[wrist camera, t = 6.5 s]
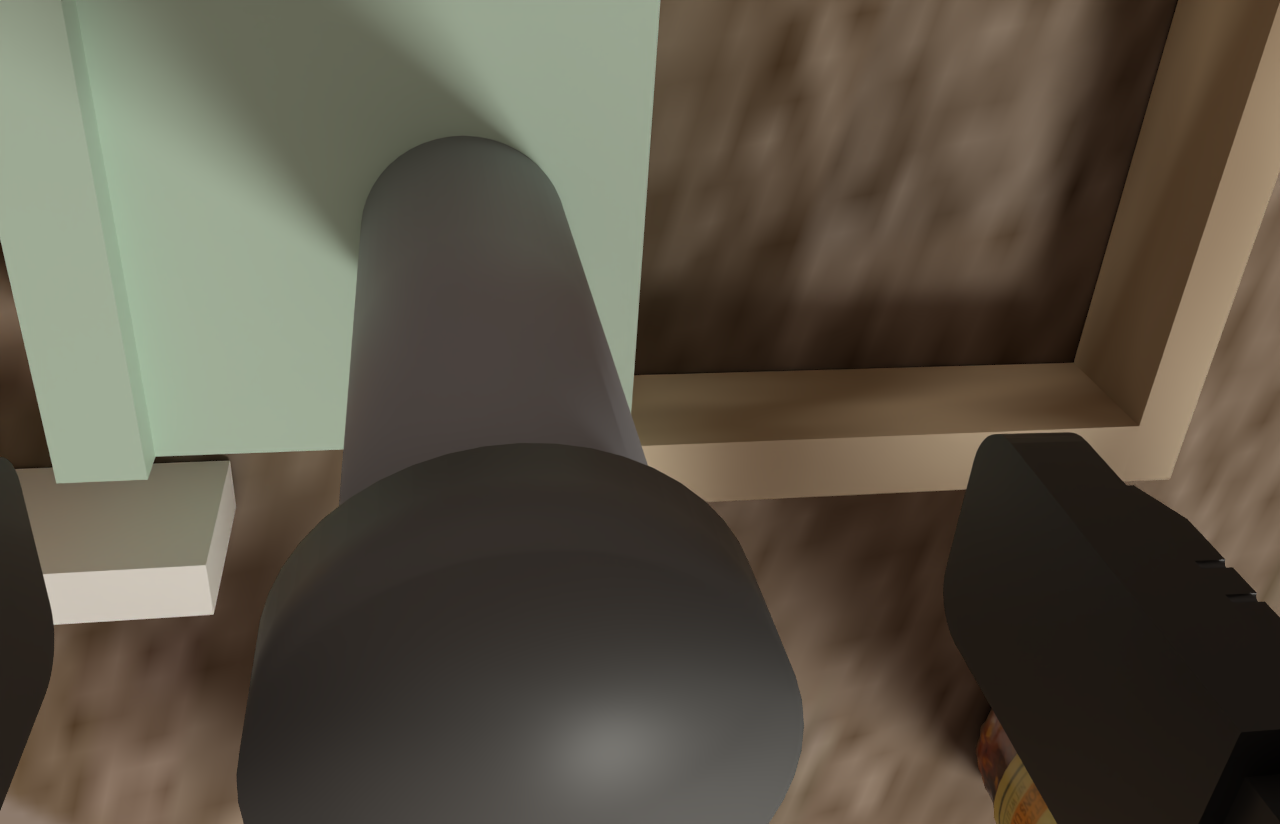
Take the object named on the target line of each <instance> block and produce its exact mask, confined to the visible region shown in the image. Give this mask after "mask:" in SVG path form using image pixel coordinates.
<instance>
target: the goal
mask: <svg viewBox="0 0 1280 824" xmlns="http://www.w3.org/2000/svg"><path fill="white" fill-rule="evenodd" d="M15 470H16V473H17V475H18V477H19V481H20V484H21V488H22V492H23V496H24V500H25V504H26V508H27V512H28V516H29V520H30V524H31V528H32V533H33V537H34V541H35V545H36V549H37V553H38V557H39V561H40V565H41V569H42V573H43V577H44V581H45V585H46V589H47V593H48V598H49V602H50V606H51V611H52V616H53V624H54V625H57V624H73V623H89V622H105V621H121V620H136V619H152V618H168V617H184V616H200V615H214V611H215V606H216V601H217V597H218V592H219V587H220V582H221V577H222V573H223V568H224V563H225V558H226V553H227V549H228V544H229V539H230V534H231V529H232V524H233V520H234V515H235V510H236V501H235V494H234V487H233V479H232V472H231V465H230V461H205V462H180V463H155V464H153V466H152V469H151V472H150V475H149V478H148V480H127V481H103V482H80V483H56V480H55V475H54V471H53V468H28V469H15Z"/></svg>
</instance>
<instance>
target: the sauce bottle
mask: <svg viewBox="0 0 1280 824" xmlns="http://www.w3.org/2000/svg"><path fill="white" fill-rule="evenodd" d="M980 735H981V736H980V737H979V739H978V742H977V746H976V756H977V758H978V767H979V770H980V772H981V774H982V779H983V782H984V786H985V788H986V790H987V792H988V793H989V795H990V797H991V799H992V802H993V805H994V818H995V821H996V824H1057V823H1056V821H1055V819H1054V818H1053V816H1052V814H1051V812H1050V811H1049V809H1048V807H1047V805H1046V803H1045V802H1044V800H1043V798H1042V796H1041V795H1040V793H1039V791H1038V789H1037V788H1036V786H1035V784H1034V782H1033V780H1032V779H1031V777H1030V775H1029V773H1028V772H1027V770H1026V768H1025V766H1024V765H1023V763H1022V761H1021V759H1020V757H1019V756H1018V754H1017V752H1016V750H1015V749H1014V747H1013V745H1012V743H1011V742H1010V740H1009V738H1008V736H1007V734H1006V733H1005V731H1004V729H1003V727H1002V726H1001V724H1000V722H999V720H998V719H997V717H996V715H995V713H994V711H993V710H992V709H991V711H990V713H989V714H988V717H987V720H986V721H985V722H984V723H983V724H982V726H981V728H980Z"/></svg>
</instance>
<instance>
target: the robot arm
mask: <svg viewBox="0 0 1280 824" xmlns="http://www.w3.org/2000/svg"><path fill="white" fill-rule="evenodd" d="M943 596H944V608H945V614H946V619H947V623H948V627H949V630H950V633H951V636H952V638H953V640H954V642H955V644H956V646H957V648H958V650H959V651H960V653H961V655H962V657H963V658H964V660H965V662H966V664H967V665H968V667H969V669H970V671H971V673H972V674H973V676H974V678H975V680H976V681H977V683H978V685H979V687H980V688H981V690H982V692H983V694H984V696H985V697H986V699H987V701H988V703H989V704H990V706H991V708H992V710H993V711H994V713H995V715H996V717H997V719H998V720H999V722H1000V724H1001V726H1002V727H1003V729H1004V731H1005V733H1006V734H1007V736H1008V738H1009V740H1010V742H1011V743H1012V745H1013V747H1014V749H1015V750H1016V752H1017V754H1018V756H1019V757H1020V759H1021V761H1022V763H1023V765H1024V766H1025V768H1026V770H1027V772H1028V773H1029V775H1030V777H1031V779H1032V780H1033V782H1034V784H1035V786H1036V788H1037V789H1038V791H1039V793H1040V795H1041V796H1042V798H1043V800H1044V802H1045V803H1046V805H1047V807H1048V809H1049V811H1050V812H1051V814H1052V816H1053V818H1054V819H1055V821H1056V823H1057V824H1280V617H1279V616H1278V615H1277V614H1276V613H1275V612H1274V611H1273V610H1272V609H1271V608H1270V607H1269V606H1268V605H1267V604H1266V602H1258V601H1257V599H1256V592H1255V591H1254V590H1253V589H1252V588H1251V586H1250V585H1249V584H1248V583H1247V582H1246V581H1245V580H1244V579H1243V578H1242V577H1241V576H1240V575H1239V574H1238V573H1237V572H1236V571H1235V569H1234V568H1233V567H1232V568H1226V567H1225V559H1224V558H1223V557H1222V556H1221V555H1220V553H1219V552H1218V551H1217V550H1216V549H1215V548H1214V547H1213V546H1212V545H1211V544H1210V543H1209V542H1208V541H1207V540H1206V539H1205V537H1204V536H1203V535H1202V534H1201V533H1200V532H1199V531H1198V530H1197V529H1196V528H1195V527H1194V526H1193V525H1192V524H1191V523H1190V522H1189V520H1188V519H1186V518H1185V517H1183V516H1181V515H1180V514H1178V513H1177V512H1175V511H1173V510H1172V509H1170V508H1169V507H1167V506H1166V505H1164V504H1162V503H1161V502H1159V501H1158V500H1156V499H1154V498H1153V497H1151V496H1150V495H1148V494H1146V493H1145V492H1143V491H1142V490H1140V489H1138V488H1137V487H1135V486H1134V485H1133V486H1127V485H1126V484H1125V483H1124V482H1123V481H1122V480H1121V479H1120V478H1119V476H1118V475H1117V474H1116V473H1115V472H1114V471H1113V470H1112V469H1111V468H1110V467H1109V465H1108V464H1107V463H1106V462H1105V461H1104V460H1103V459H1102V458H1101V457H1100V455H1099V454H1098V453H1097V452H1096V451H1095V450H1094V449H1093V448H1092V447H1091V445H1090V444H1089V443H1088V442H1087V441H1086V440H1085V439H1084V438H1083V437H1082V436H1080V435H1078V434H1076V433H1072V432H1056V433H1017V434H992V435H990V436H988V437H986V438H985V439H984V440H983V441H982V443H981V444H980V446H979V448H978V450H977V452H976V455H975V458H974V461H973V465H972V469H971V473H970V477H969V481H968V485H967V488H966V492H965V496H964V500H963V504H962V508H961V512H960V516H959V519H958V523H957V527H956V531H955V535H954V539H953V543H952V547H951V550H950V554H949V558H948V562H947V566H946V571H945V575H944V588H943ZM53 656H54V624H53V616H52V611H51V606H50V602H49V598H48V593H47V589H46V585H45V581H44V577H43V573H42V569H41V565H40V561H39V557H38V553H37V549H36V545H35V541H34V537H33V533H32V528H31V524H30V520H29V516H28V512H27V508H26V504H25V500H24V496H23V492H22V488H21V484H20V481H19V477H18V475H17V473H16V470H15V469H14V467H13V465H12V464H11V463H10V462H9V461H8V460H7V459H6V458H4V457H0V810H1V807H2V805H3V802H4V799H5V797H6V794H7V792H8V789H9V787H10V784H11V781H12V779H13V776H14V774H15V771H16V769H17V766H18V763H19V761H20V758H21V756H22V753H23V750H24V748H25V745H26V743H27V740H28V738H29V735H30V732H31V730H32V727H33V725H34V722H35V720H36V717H37V714H38V712H39V709H40V707H41V704H42V702H43V699H44V696H45V694H46V691H47V688H48V684H49V680H50V676H51V671H52V664H53Z"/></svg>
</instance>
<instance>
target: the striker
mask: <svg viewBox="0 0 1280 824" xmlns="http://www.w3.org/2000/svg"><path fill="white" fill-rule="evenodd" d="M659 12H660V0H0V241H1V245H2V249H3V254H4V258H5V262H6V267H7V271H8V275H9V280H10V284H11V288H12V293H13V297H14V301H15V306H16V310H17V314H18V319H19V323H20V327H21V332H22V336H23V341H24V345H25V349H26V354H27V358H28V362H29V367H30V371H31V375H32V380H33V384H34V388H35V393H36V397H37V401H38V406H39V410H40V414H41V419H42V423H43V427H44V432H45V436H46V440H47V445H48V449H49V453H50V458H51V462H52V467H53V471H54V475H55V480H56V483H80V482H103V481H127V480H148V478H149V475H150V472H151V469H152V466H153V463H154V460H155V457H158V456H184V455H210V454H236V453H262V452H288V451H314V450H340V449H343V462H342V474H341V487H340V500H339V507H338V508H336V509H335V510H334V511H333V512H331V513H330V514H329V515H327V516H326V517H325V518H324V519H322V520H321V521H320V522H319V524H318V525H317V526H316V527H315V528H314V529H313V530H312V531H311V532H310V533H309V534H308V535H307V536H306V537H305V538H304V539H303V540H302V541H301V542H300V543H299V545H298V546H297V547H296V549H295V550H294V552H293V553H292V554H291V556H290V557H289V558H288V560H287V561H286V563H285V564H284V565H283V567H282V568H281V570H280V572H279V574H278V576H277V578H276V580H275V582H274V584H273V586H272V588H271V590H270V592H269V594H268V597H267V600H266V603H265V606H264V609H263V612H262V616H261V619H260V624H259V630H258V636H257V643H256V649H255V656H254V662H253V669H252V675H251V681H250V688H249V694H248V701H247V707H246V714H245V720H244V726H243V733H242V739H241V746H240V753H239V761H238V768H237V790H238V803H239V807H240V811H241V814H242V818H243V822H244V824H769V822H770V821H771V819H772V817H773V816H774V814H775V813H776V811H777V809H778V808H779V806H780V805H781V803H782V801H783V800H784V798H785V795H786V793H787V791H788V789H789V786H790V784H791V782H792V780H793V778H794V775H795V772H796V768H797V764H798V761H799V757H800V753H801V748H802V738H803V729H804V721H803V708H802V699H801V695H800V691H799V688H798V684H797V680H796V676H795V674H794V671H793V669H792V666H791V664H790V662H789V659H788V657H787V654H786V652H785V649H784V647H783V644H782V642H781V640H780V637H779V635H778V632H777V630H776V627H775V625H774V623H773V620H772V618H771V615H770V613H769V610H768V608H767V605H766V603H765V601H764V598H763V596H762V593H761V591H760V588H759V586H758V584H757V581H756V579H755V576H754V574H753V571H752V569H751V566H750V564H749V562H748V560H747V558H746V556H745V554H744V552H743V549H742V547H741V545H740V543H739V541H738V540H737V538H736V537H735V536H734V534H733V533H732V531H731V530H730V528H729V527H728V526H727V524H726V523H725V521H724V520H723V519H722V518H721V517H720V516H719V515H718V514H717V513H716V512H715V511H714V510H713V509H712V508H711V507H710V506H709V505H708V504H707V503H706V502H705V501H704V500H703V499H702V498H700V497H699V496H698V495H696V494H695V493H694V492H692V491H691V490H690V489H688V488H687V487H686V486H684V485H683V484H682V483H680V482H678V481H677V480H675V479H673V478H671V477H669V476H667V475H666V474H664V473H662V472H660V471H658V470H657V469H655V468H652V467H650V466H648V464H647V461H646V458H645V455H644V452H643V449H642V446H641V443H640V440H639V437H638V434H637V431H636V428H635V425H634V421H633V418H632V415H631V409H632V395H633V381H634V367H635V352H636V338H637V324H638V310H639V296H640V282H641V267H642V253H643V239H644V225H645V211H646V197H647V182H648V168H649V154H650V140H651V126H652V112H653V97H654V83H655V69H656V55H657V41H658V27H659Z"/></svg>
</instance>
